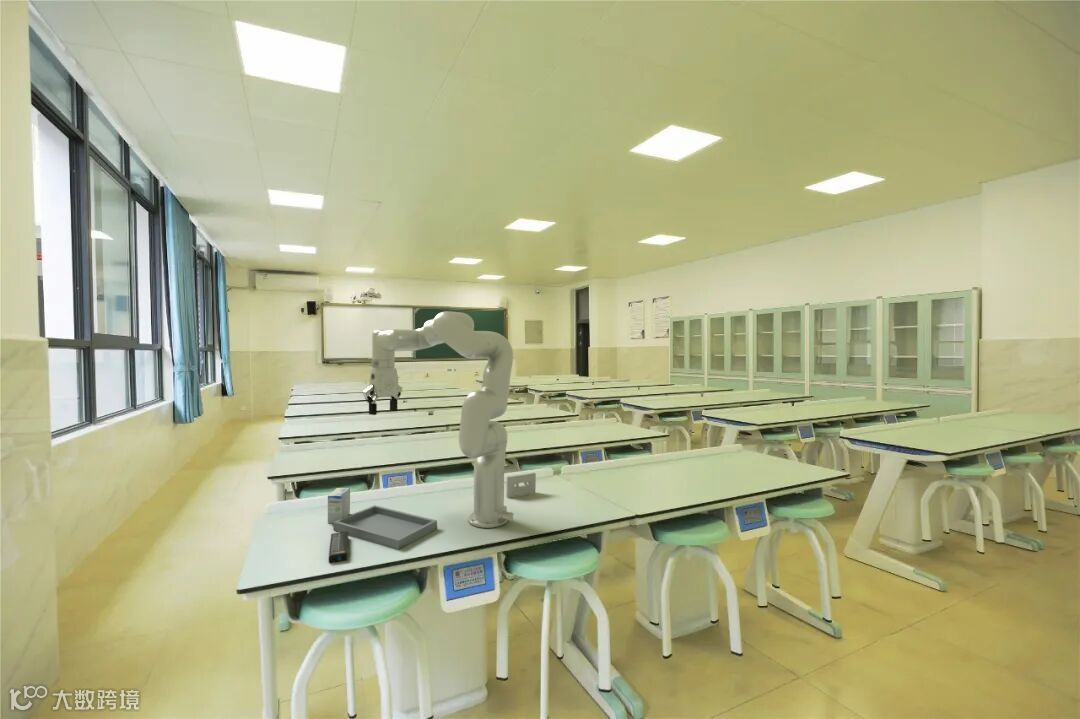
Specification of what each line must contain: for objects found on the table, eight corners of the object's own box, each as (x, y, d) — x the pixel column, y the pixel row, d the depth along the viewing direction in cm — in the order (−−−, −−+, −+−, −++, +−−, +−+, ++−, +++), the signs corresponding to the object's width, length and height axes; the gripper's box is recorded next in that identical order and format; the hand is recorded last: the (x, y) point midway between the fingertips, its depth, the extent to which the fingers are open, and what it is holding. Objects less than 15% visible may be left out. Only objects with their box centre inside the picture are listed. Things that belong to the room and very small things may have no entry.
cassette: (507, 498, 169) (507, 477, 169) (505, 497, 171) (505, 476, 170) (536, 493, 175) (536, 473, 175) (533, 492, 177) (534, 472, 176)
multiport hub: (348, 539, 134) (348, 531, 134) (347, 561, 121) (347, 553, 121) (331, 541, 133) (331, 533, 132) (328, 564, 119) (328, 555, 119)
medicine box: (336, 513, 152) (336, 487, 151) (350, 513, 152) (350, 487, 152) (327, 523, 144) (327, 495, 144) (342, 523, 144) (342, 495, 144)
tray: (437, 528, 141) (437, 520, 141) (398, 549, 127) (398, 540, 127) (374, 512, 153) (374, 505, 153) (333, 530, 139) (333, 521, 139)
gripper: (371, 366, 156) (371, 417, 157) (408, 364, 171) (408, 410, 172) (356, 365, 160) (356, 415, 160) (393, 363, 175) (393, 408, 176)
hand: (383, 412), depth 166 cm, fingers open, 9 cm apart
